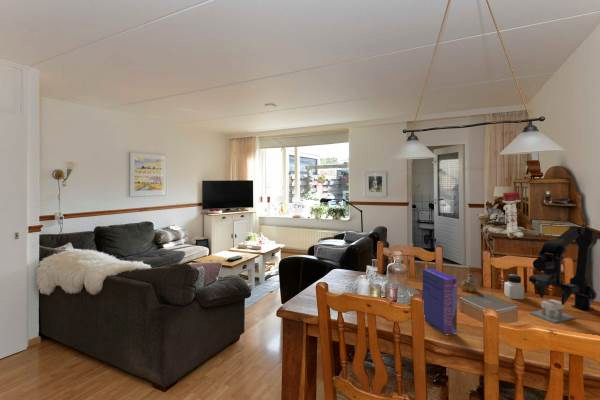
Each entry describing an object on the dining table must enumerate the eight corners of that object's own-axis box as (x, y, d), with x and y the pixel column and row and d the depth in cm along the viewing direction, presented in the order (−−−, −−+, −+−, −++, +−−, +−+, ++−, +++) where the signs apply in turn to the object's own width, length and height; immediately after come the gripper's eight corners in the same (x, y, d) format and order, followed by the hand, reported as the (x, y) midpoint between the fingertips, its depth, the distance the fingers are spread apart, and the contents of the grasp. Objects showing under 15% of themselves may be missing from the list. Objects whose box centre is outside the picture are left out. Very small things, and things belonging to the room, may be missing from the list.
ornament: (460, 291, 186) (460, 274, 185) (463, 288, 190) (463, 271, 190) (475, 294, 180) (475, 276, 180) (477, 291, 185) (478, 274, 184)
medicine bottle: (524, 299, 171) (524, 277, 170) (509, 298, 172) (510, 277, 171) (518, 294, 178) (518, 273, 177) (504, 294, 179) (504, 273, 178)
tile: (549, 309, 157) (549, 308, 157) (574, 318, 147) (574, 317, 147) (529, 313, 153) (529, 312, 153) (554, 323, 143) (554, 321, 143)
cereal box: (456, 334, 134) (457, 278, 133) (446, 335, 133) (447, 279, 132) (431, 317, 151) (431, 267, 150) (422, 318, 150) (422, 268, 149)
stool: (540, 313, 151) (540, 301, 151) (552, 311, 154) (552, 299, 153) (551, 318, 146) (552, 305, 146) (563, 315, 149) (563, 303, 149)
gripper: (521, 265, 155) (520, 296, 156) (563, 276, 137) (562, 311, 138) (537, 263, 158) (536, 293, 159) (580, 273, 141) (579, 307, 142)
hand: (552, 301), depth 150 cm, fingers open, 9 cm apart
